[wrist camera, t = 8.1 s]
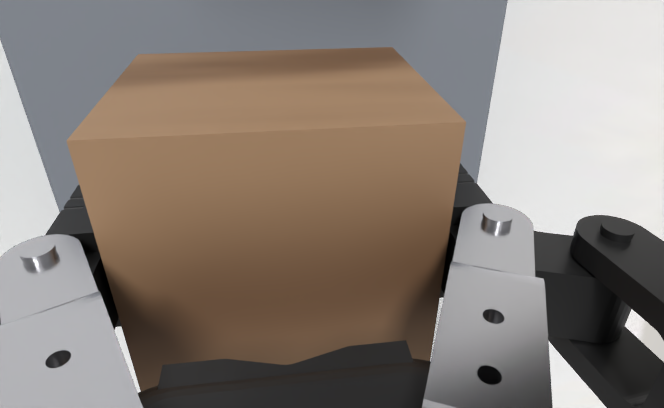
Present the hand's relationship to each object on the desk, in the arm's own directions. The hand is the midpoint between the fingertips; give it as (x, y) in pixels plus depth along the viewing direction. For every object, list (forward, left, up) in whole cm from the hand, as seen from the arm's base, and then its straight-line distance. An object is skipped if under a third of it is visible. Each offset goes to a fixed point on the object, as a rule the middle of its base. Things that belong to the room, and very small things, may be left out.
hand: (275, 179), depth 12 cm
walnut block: (0, 0, -1) cm, 1 cm away
